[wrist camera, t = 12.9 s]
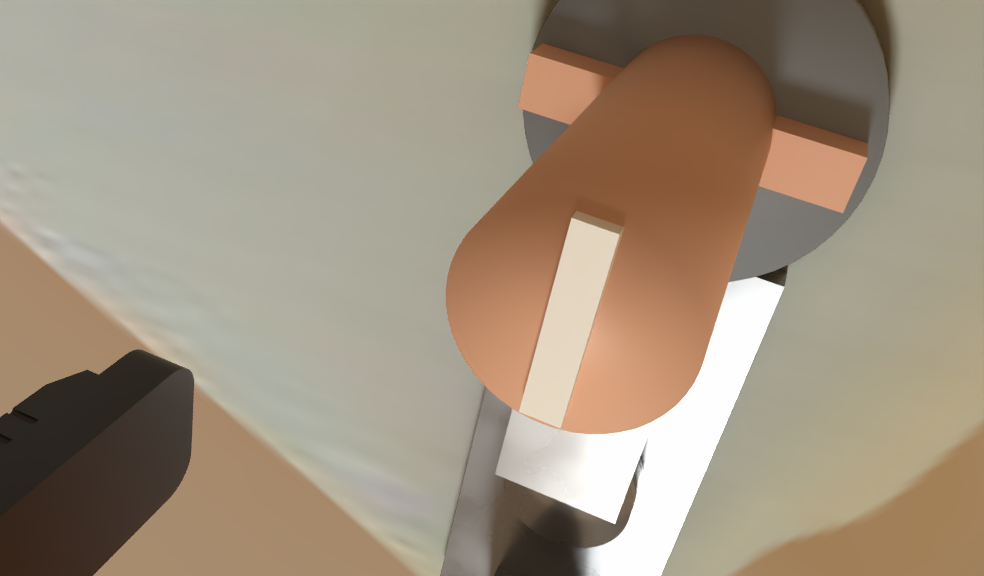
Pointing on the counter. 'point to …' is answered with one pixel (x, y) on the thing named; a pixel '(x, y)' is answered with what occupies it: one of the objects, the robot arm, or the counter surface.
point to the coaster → (790, 71)
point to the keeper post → (602, 470)
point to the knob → (629, 229)
